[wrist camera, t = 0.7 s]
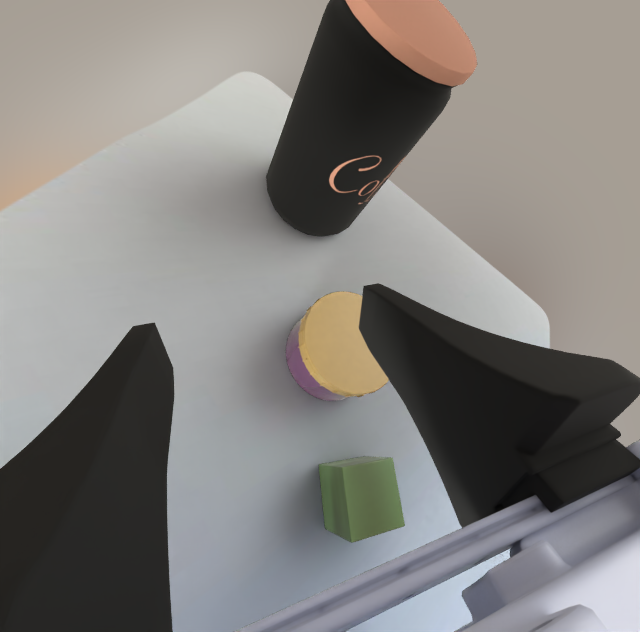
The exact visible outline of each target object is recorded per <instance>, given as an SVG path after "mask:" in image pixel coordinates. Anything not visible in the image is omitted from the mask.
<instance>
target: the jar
mask: <svg viewBox="0 0 640 632" xmlns="http://www.w3.org/2000/svg"><path fill="white" fill-rule="evenodd" d="M303 317H304V316H303ZM303 317H302V318H301V319H300V320H299V321H298V322H297V323H296V324H295V325H294V327H293V328H292V330H291V332H290V334H289V336H288V339H287V344H286V359H287V363H288V367H289V370H290V372H291V374H292V376H293V377H294V379H295V381H296V382H297V383H298V384H299V386H300V387H301V388H302V389H304V390H305V391H306V392H307V393H309V394H310V395H312V396H314V397H316V398H319V399H322V400H327V401H336V400H341V399H345V398H349V397H351V396H349V397H345V396H343V395H339V394H336V393H332V392H331V391H329V390H328V389H326V388H325V387H323V386H320V384H319V383H318V382H317V381H316V380H315V379H314V377H313V376H312V375H310V372H309V371H308V369H307V368H306V366H305V364H304V362H303V359H302V356H301V353H300V348H298V347H299V334H298V332H299V329H300V325H301V320H302V319H303Z"/></svg>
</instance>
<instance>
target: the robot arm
mask: <svg viewBox="0 0 640 632" xmlns="http://www.w3.org/2000/svg"><path fill="white" fill-rule="evenodd" d="M359 330H360V332H361V334H362V337H363V339H364V341H365V343H366V345H367V347H368V349H369V350H370V352H371V354H372V355H373V357H374V358H375V360H376V361H377V363H378V364H379V366H380V367H381V369H382V370H383V372H384V373H385V375H386V376H387V377H388V379H389V380H390V382H391V383H392V385H393V386H394V388H395V389H396V391H397V392H398V394H399V395H400V397H401V399H402V400H403V402H404V403H405V405H406V407H407V409H408V411H409V413H410V415H411V417H412V418H413V420H414V422H415V424H416V426H417V428H418V430H419V432H420V434H421V436H422V438H423V440H424V442H425V444H426V446H427V448H428V450H429V452H430V455H431V457H432V459H433V461H434V463H435V466H436V468H437V470H438V472H439V474H440V476H441V479H442V481H443V483H444V486H445V488H446V491H447V493H448V495H449V498H450V500H451V503H452V505H453V507H454V510H455V513H456V515H457V518H458V520H459V523H460V525H461V526H462V528H461V529H459V530H457V531H455V532H452V533H450V534H448V535H446V536H444V537H441V538H439V539H437V540H435V541H433V542H430V543H428V544H426V545H424V546H422V547H419V548H417V549H415V550H413V551H411V552H408V553H406V554H404V555H402V556H400V557H397V558H395V559H393V560H391V561H389V562H386V563H384V564H382V565H380V566H377V567H375V568H373V569H371V570H369V571H366V572H364V573H362V574H360V575H358V576H355V577H353V578H351V579H349V580H347V581H344V582H342V583H340V584H338V585H336V586H333V587H331V588H329V589H327V590H325V591H322V592H320V593H318V594H316V595H314V596H311V597H309V598H307V599H305V600H303V601H300V602H298V603H296V604H294V605H292V606H289V607H287V608H285V609H283V610H280V611H278V612H276V613H274V614H272V615H269V616H267V617H265V618H263V619H261V620H258V621H256V622H254V623H252V624H250V625H247V626H245V627H243V628H241V629H239V630H236V631H234V632H344V631H346V630H348V629H350V628H352V627H354V626H356V625H358V624H360V623H362V622H364V621H366V620H368V619H370V618H372V617H374V616H376V615H378V614H380V613H382V612H384V611H386V610H388V609H390V608H392V607H394V606H396V605H398V604H400V603H402V602H404V601H406V600H408V599H410V598H412V597H414V596H416V595H418V594H420V593H422V592H424V591H426V590H428V589H430V588H432V587H434V586H436V585H438V584H440V583H442V582H444V581H446V580H448V579H450V578H452V577H454V576H456V575H458V574H460V573H462V572H464V571H466V570H468V569H470V568H472V567H474V566H476V565H478V564H480V563H482V562H484V561H486V560H488V559H490V558H492V557H494V556H496V555H498V554H500V553H502V552H504V551H506V550H508V549H510V548H511V549H510V557H511V558H509V559H508V560H506V561H504V562H502V563H501V564H499V565H497V566H495V567H494V568H492V569H490V570H489V571H488V572H487V573H486V574H485V575H484V576H483V577H482V578H480V579H479V580H478V581H476V582H475V583H473V584H472V585H471V586H469V587H468V588H466V589H465V590H463V591H462V597H463V599H464V601H465V603H466V605H467V607H468V608H469V610H470V612H471V614H472V618H473V621H472V622H470V623H468V624H467V625H465V626H463V627H461V628H459V629H458V630H456V631H454V632H640V440H638V441H636V442H634V443H632V444H631V445H629V446H628V447H624V446H623V445H622V444H621V443H620V442H618V441H617V440H616V439H617V438H619V437H620V436H621V433H620V432H619V431H618V430H617V429H616V428H614V427H613V426H612V425H611V424H610V423H611V422H612V421H613V420H614V419H615V418H616V417H617V416H619V415H620V414H621V413H622V412H623V411H624V410H625V409H626V408H627V407H628V406H629V405H630V404H631V403H632V402H633V401H634V400H635V399H636V398H637V397H638V396H639V394H640V378H639V377H638V376H636V375H635V374H633V373H631V372H630V371H629V370H627V369H626V368H624V367H622V366H621V365H619V364H618V363H616V362H614V361H612V360H609V359H603V358H597V357H591V356H585V355H579V354H573V353H567V352H562V351H558V350H553V349H548V348H544V347H539V346H535V345H531V344H527V343H523V342H519V341H516V340H512V339H509V338H505V337H502V336H499V335H495V334H492V333H489V332H486V331H483V330H481V329H478V328H475V327H472V326H470V325H467V324H464V323H462V322H459V321H457V320H454V319H452V318H450V317H448V316H445V315H443V314H441V313H438V312H436V311H434V310H432V309H430V308H428V307H426V306H424V305H422V304H420V303H418V302H416V301H414V300H412V299H410V298H408V297H406V296H404V295H402V294H400V293H398V292H396V291H394V290H392V289H390V288H388V287H386V286H383V285H381V284H373V285H367V286H364V288H363V296H362V305H361V313H360V321H359ZM173 404H174V375H173V366H172V364H171V361H170V359H169V357H168V354H167V352H166V349H165V347H164V344H163V342H162V339H161V337H160V335H159V332H158V330H157V327H156V325H155V323H149V324H144V325H138V326H133V327H132V328H131V330H130V331H129V332H128V333H127V335H126V336H125V337H124V338H123V340H122V341H121V342H120V344H119V345H118V346H117V348H116V349H115V350H114V351H113V353H112V354H111V355H110V357H109V358H108V359H107V360H106V362H105V363H104V364H103V365H102V367H101V368H100V369H99V370H98V372H97V373H96V374H95V375H94V377H93V378H92V379H91V380H90V381H89V382H88V383H87V385H86V386H85V387H84V388H83V389H82V390H81V391H80V393H79V394H78V395H77V396H76V397H75V398H74V399H73V400H72V402H71V403H70V404H69V405H68V406H67V407H66V408H65V409H64V410H63V411H62V412H61V413H60V414H59V415H58V416H57V417H56V418H55V419H54V420H53V421H52V422H51V423H50V424H49V425H48V426H47V427H46V428H45V429H44V430H43V431H42V432H41V433H40V434H39V435H38V436H37V437H36V438H35V439H34V440H33V441H32V442H31V443H29V444H28V445H27V446H26V447H25V448H24V449H23V450H22V451H21V452H19V453H18V454H17V455H16V456H15V457H14V458H12V459H11V460H10V461H9V462H8V463H7V464H6V465H4V466H3V467H2V468H1V469H0V632H173V631H172V616H171V600H170V584H169V560H168V531H167V463H168V453H169V443H170V433H171V424H172V414H173Z"/></svg>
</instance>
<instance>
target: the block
mask: <svg viewBox="0 0 640 632" xmlns="http://www.w3.org/2000/svg"><path fill="white" fill-rule="evenodd" d="M319 474H320V484H321V494H322V504H323V513H324V523H325V529H326V530H328V531H330V532H332V533H334V534H336V535H338V536H340V537H342V538H343V539H345V540H347V541H349V542H351V543H353V542H356V541H359V540H362V539H365V538H369V537H372V536H375V535H378V534H381V533H384V532H387V531H391V530H394V529H397V528H400V527H403V526H405V524H404V518H403V513H402V507H401V502H400V496H399V491H398V485H397V480H396V474H395V469H394V463H393V458H389V457H369V456H363V457H357V458H352V459H346V460H340V461H335V462H329V463H324V464H319Z"/></svg>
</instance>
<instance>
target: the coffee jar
mask: <svg viewBox="0 0 640 632" xmlns="http://www.w3.org/2000/svg"><path fill="white" fill-rule="evenodd" d="M476 66H477V60H476V53H475V51H474V49H473V46H472V44H471V42H470V40H469V38H468V36H467V35H466V33H465V32H464V31H463V29H462V28H461V26H460V25H459V23H458V22H457V21H456V19H455V18H454V17H453V16H452V15H451V14H450V12H449V11H448V10H447V9H446V8H445V7H444V5H443V4H442V3H441V2H440V1H439V0H330V1H329V3H328V5H327V7H326V9H325V12H324V14H323V17H322V20H321V23H320V26H319V28H318V31H317V34H316V37H315V40H314V43H313V45H312V48H311V51H310V54H309V57H308V60H307V63H306V65H305V68H304V71H303V74H302V77H301V79H300V82H299V85H298V88H297V91H296V94H295V96H294V99H293V102H292V105H291V108H290V111H289V113H288V116H287V119H286V122H285V125H284V128H283V130H282V133H281V136H280V139H279V142H278V145H277V147H276V150H275V153H274V156H273V159H272V161H271V164H270V167H269V170H268V173H267V176H266V179H267V191H268V194H269V196H270V199H271V201H272V203H273V206H274V208H275V210H276V211H277V212H278V213H279V215H280V216H281V217H282V218H283V220H285V221H286V222H287V223H288V224H290V225H291V226H292V227H294V228H295V229H297V230H299V231H302V232H304V233H306V234H309V235H315V236H326V235H334V234H338V233H340V232H342V231H343V230H345V229H347V228H348V227H349V226H350V225H351V224H352V222H353V221H354V220H355V219H356V217H357V216H358V215H359V214H360V212H361V211H362V210H363V209H364V207H365V206H366V205H367V204H368V203H369V201H370V200H371V199H372V198H373V196H374V195H375V194H376V193H377V191H378V190H379V189H380V188H381V186H382V185H383V184H384V183H385V182H386V180H387V179H388V178H389V177H390V175H391V174H392V173H393V172H394V170H395V169H396V168H397V167H398V165H399V164H400V163H401V162H402V160H403V159H404V158H405V157H406V156H407V154H408V153H409V152H410V151H411V149H412V148H413V147H414V146H415V144H416V143H417V142H418V141H419V139H420V138H421V137H422V136H423V135H424V133H425V132H426V131H427V130H428V128H429V127H430V126H431V125H432V123H433V122H434V121H435V120H436V118H437V117H438V116H439V115H440V114H441V112H442V111H443V109H444V107H445V106H446V104H447V102H448V101H449V99H450V95H451V88H453V87H455V86H457V85H460V84H463V83H464V82H465V81H466V80H467V79H468V78H469V77H470V76H471V75H472V73H473V72H474V70H475V68H476Z"/></svg>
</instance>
